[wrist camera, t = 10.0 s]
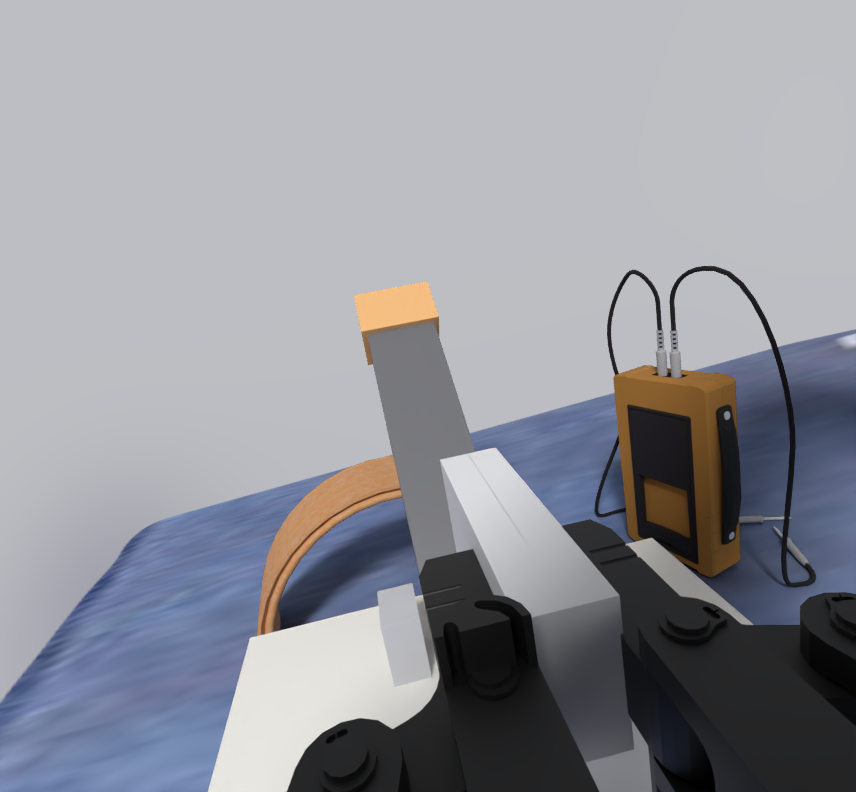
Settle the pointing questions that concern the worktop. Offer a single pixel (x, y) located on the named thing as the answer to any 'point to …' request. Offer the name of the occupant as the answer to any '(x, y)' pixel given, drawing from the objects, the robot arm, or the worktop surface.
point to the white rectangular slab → (375, 685)
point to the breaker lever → (416, 407)
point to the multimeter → (688, 453)
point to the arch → (321, 525)
